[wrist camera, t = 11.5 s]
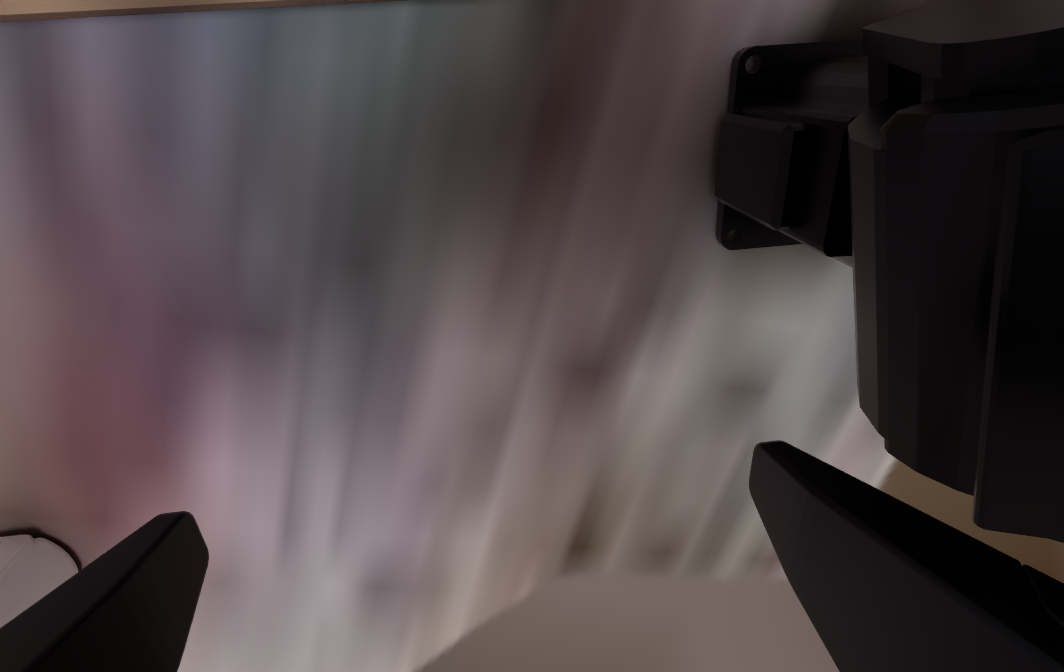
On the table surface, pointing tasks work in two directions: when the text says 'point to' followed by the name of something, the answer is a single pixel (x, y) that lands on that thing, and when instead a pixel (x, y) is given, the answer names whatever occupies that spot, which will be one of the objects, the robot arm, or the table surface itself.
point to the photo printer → (29, 572)
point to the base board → (136, 7)
